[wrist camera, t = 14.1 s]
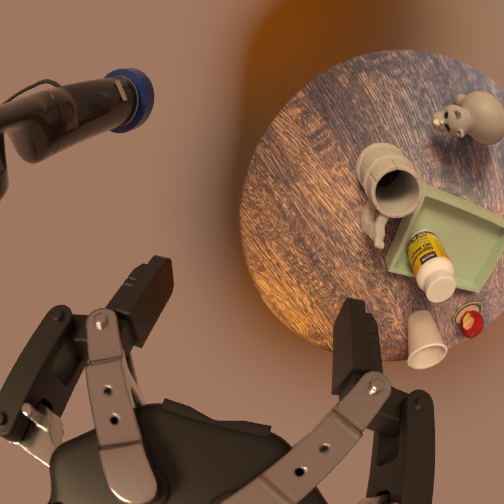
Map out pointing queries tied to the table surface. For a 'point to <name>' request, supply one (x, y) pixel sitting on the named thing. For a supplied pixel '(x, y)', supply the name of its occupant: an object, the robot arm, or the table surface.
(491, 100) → the toy rhinoceros
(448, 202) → the tray
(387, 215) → the mug
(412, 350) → the dixie cup
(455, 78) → the table surface
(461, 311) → the apple
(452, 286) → the pill bottle
